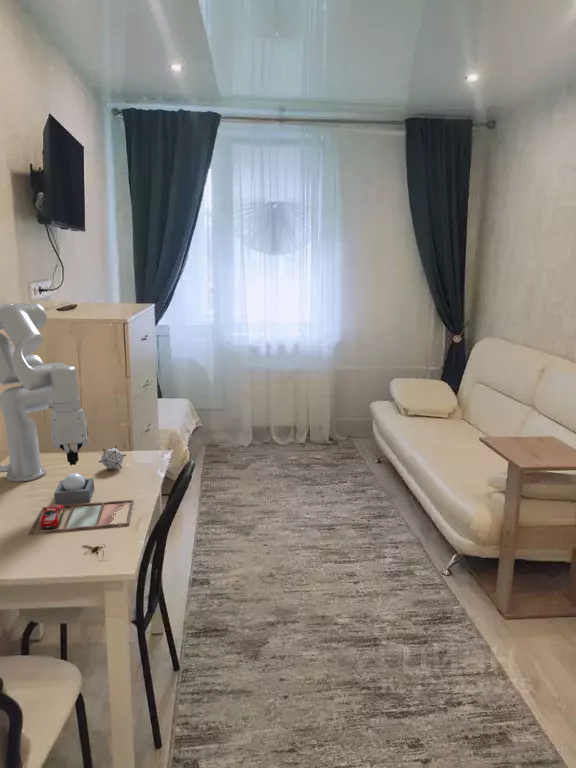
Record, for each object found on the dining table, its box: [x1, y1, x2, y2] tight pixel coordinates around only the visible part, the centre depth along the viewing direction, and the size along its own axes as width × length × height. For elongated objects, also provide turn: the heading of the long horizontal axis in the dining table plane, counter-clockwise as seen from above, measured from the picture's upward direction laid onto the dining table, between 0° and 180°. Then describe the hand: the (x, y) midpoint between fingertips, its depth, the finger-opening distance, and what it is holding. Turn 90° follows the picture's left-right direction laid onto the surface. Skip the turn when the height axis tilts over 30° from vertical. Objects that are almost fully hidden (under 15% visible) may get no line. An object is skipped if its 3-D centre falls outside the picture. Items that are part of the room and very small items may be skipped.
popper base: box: [53, 477, 95, 505], centre depth 172 cm, size 10×10×4 cm
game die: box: [98, 445, 127, 473], centre depth 195 cm, size 9×8×10 cm
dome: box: [63, 472, 86, 491], centre depth 171 cm, size 6×6×6 cm
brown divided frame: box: [28, 499, 134, 535], centre depth 159 cm, size 26×16×1 cm, turn 101°
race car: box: [39, 504, 65, 530], centre depth 157 cm, size 13×5×4 cm, turn 12°
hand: (73, 463), depth 170 cm, fingers closed
